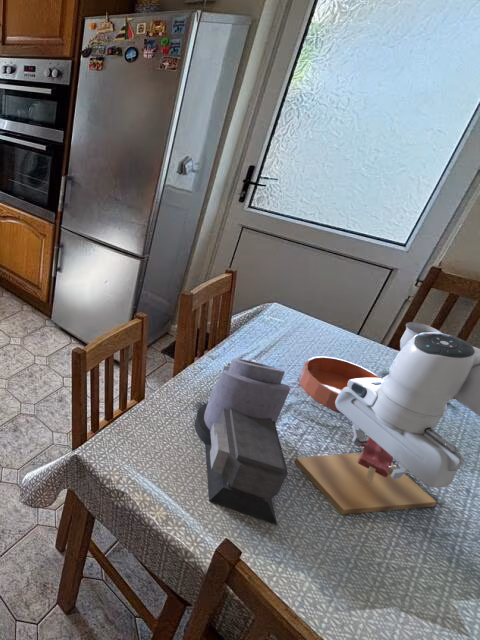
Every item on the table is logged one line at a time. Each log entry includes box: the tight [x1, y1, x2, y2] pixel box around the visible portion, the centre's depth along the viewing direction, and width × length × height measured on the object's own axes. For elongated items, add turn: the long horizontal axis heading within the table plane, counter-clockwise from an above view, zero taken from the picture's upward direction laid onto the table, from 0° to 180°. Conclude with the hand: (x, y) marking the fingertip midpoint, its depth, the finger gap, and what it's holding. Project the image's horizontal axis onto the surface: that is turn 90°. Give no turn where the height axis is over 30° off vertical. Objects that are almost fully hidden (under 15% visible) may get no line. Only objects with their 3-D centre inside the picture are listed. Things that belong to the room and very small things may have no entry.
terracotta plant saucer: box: [298, 355, 382, 414], centre depth 110 cm, size 18×18×5 cm
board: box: [293, 452, 437, 515], centre depth 88 cm, size 20×12×2 cm, turn 94°
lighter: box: [220, 359, 257, 374], centre depth 115 cm, size 7×2×8 cm, turn 58°
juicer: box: [194, 357, 291, 526], centre depth 89 cm, size 30×16×24 cm, turn 155°
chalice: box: [381, 321, 442, 380], centre depth 110 cm, size 7×7×18 cm
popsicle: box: [358, 436, 394, 483], centre depth 85 cm, size 4×2×15 cm
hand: (374, 458), depth 85 cm, fingers closed on popsicle, 6 cm apart
